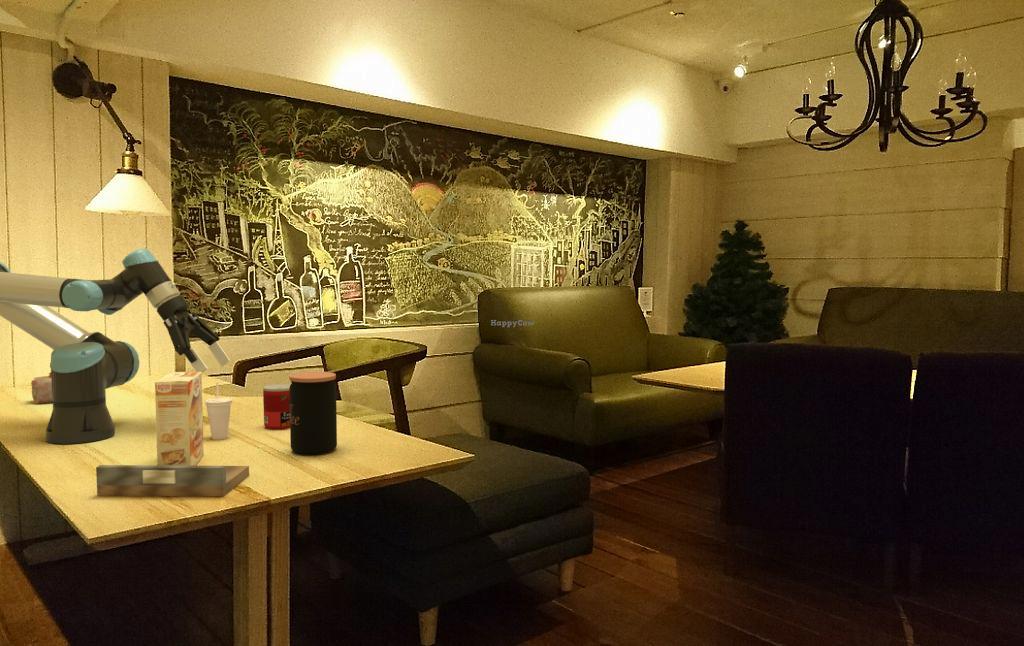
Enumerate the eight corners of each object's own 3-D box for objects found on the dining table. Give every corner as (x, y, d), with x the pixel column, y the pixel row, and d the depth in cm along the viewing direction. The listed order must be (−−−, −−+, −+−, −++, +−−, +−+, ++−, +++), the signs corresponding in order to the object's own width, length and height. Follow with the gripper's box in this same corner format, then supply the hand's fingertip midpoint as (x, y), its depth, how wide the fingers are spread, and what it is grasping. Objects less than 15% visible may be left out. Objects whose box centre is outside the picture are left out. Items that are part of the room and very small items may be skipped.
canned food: (285, 430, 198) (285, 389, 198) (258, 429, 200) (257, 388, 199) (299, 424, 206) (299, 384, 205) (273, 423, 207) (272, 383, 207)
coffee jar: (295, 445, 183) (294, 371, 181) (340, 444, 184) (339, 371, 182) (286, 456, 172) (284, 378, 171) (333, 455, 173) (332, 378, 172)
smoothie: (226, 433, 195) (225, 380, 193) (237, 438, 190) (236, 383, 189) (201, 437, 190) (200, 382, 189) (212, 442, 185) (210, 386, 184)
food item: (31, 406, 231) (30, 374, 230) (32, 401, 238) (30, 370, 237) (83, 401, 238) (81, 370, 237) (82, 397, 245) (80, 367, 244)
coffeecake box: (192, 472, 160) (189, 380, 158) (156, 473, 158) (152, 381, 156) (205, 454, 174) (203, 370, 173) (172, 455, 173) (169, 371, 171)
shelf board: (96, 496, 143) (94, 467, 142) (134, 474, 157) (133, 448, 157) (222, 496, 143) (221, 468, 142) (249, 475, 157) (248, 449, 157)
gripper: (154, 297, 187) (204, 367, 188) (201, 291, 212) (245, 353, 213) (131, 314, 188) (181, 383, 189) (180, 306, 213) (224, 367, 214)
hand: (215, 367), depth 201 cm, fingers open, 13 cm apart
